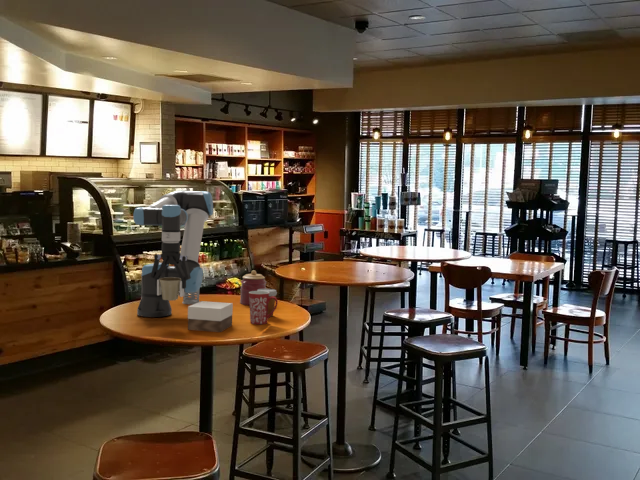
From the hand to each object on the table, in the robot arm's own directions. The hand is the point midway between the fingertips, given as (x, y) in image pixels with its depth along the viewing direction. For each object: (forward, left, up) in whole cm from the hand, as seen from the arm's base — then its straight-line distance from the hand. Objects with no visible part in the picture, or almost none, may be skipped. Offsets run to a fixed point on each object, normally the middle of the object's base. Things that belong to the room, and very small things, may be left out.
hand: (170, 295), depth 265 cm
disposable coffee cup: (+32, +34, -13) cm, 48 cm away
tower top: (+17, +1, -8) cm, 19 cm away
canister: (+18, +59, -13) cm, 63 cm away
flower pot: (0, 0, -2) cm, 2 cm away
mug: (+35, +18, -13) cm, 41 cm away
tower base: (+17, +2, -13) cm, 22 cm away
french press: (-13, +52, -13) cm, 55 cm away
